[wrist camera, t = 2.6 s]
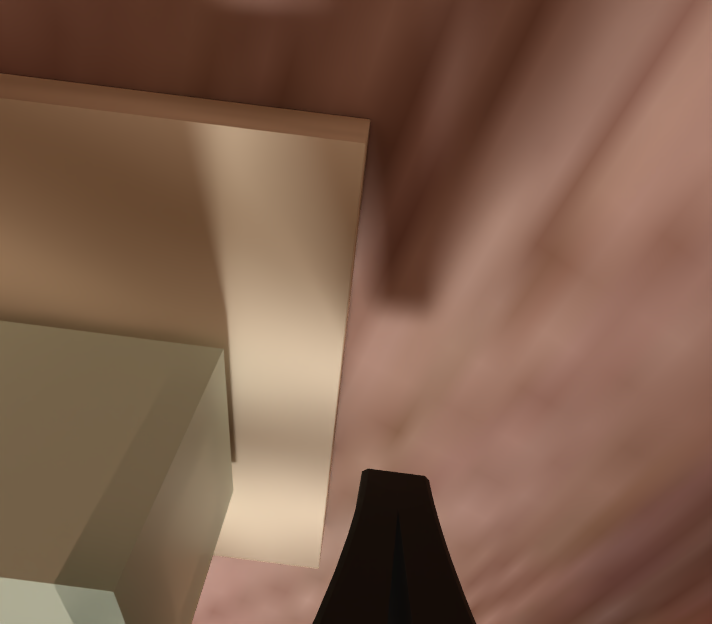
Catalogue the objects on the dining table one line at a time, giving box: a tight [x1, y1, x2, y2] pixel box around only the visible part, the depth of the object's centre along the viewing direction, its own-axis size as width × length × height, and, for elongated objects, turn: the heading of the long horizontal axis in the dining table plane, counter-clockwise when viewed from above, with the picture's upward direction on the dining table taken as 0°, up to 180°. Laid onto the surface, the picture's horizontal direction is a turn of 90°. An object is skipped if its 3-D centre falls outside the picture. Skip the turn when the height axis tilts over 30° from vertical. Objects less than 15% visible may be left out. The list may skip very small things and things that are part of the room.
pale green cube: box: [0, 321, 233, 624], centre depth 10 cm, size 5×6×5 cm
